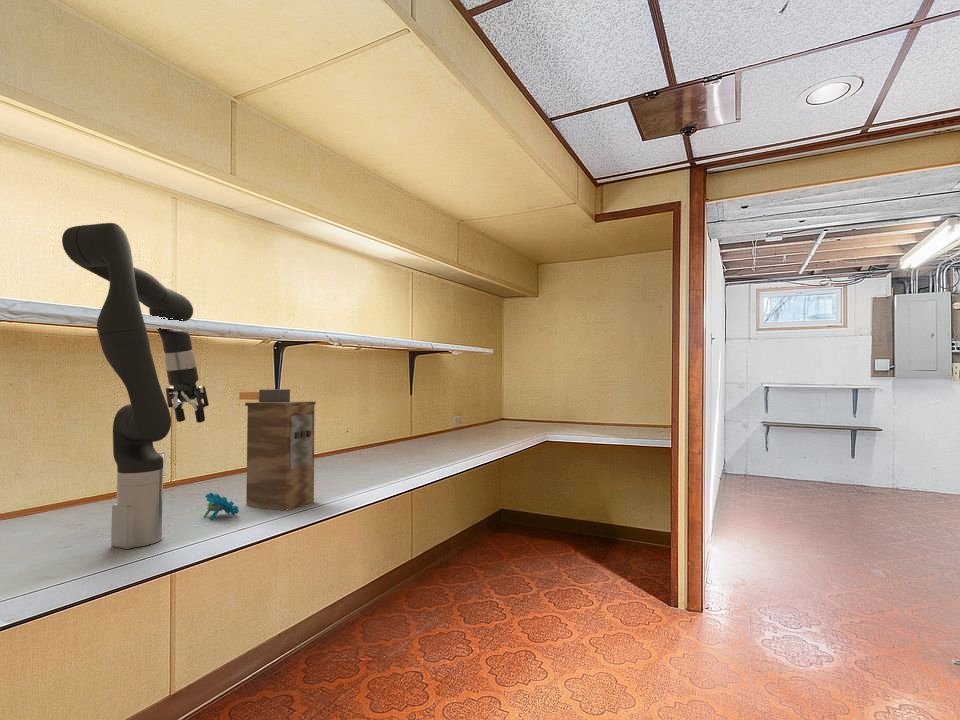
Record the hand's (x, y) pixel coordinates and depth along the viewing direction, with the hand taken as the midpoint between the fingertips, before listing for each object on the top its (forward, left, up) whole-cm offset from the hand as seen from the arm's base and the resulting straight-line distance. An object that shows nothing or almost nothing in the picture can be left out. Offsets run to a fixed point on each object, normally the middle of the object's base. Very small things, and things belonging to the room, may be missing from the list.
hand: (191, 421), depth 146 cm
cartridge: (+20, -8, +5) cm, 22 cm away
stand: (+20, -15, -27) cm, 37 cm away
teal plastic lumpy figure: (+2, -10, -27) cm, 29 cm away
